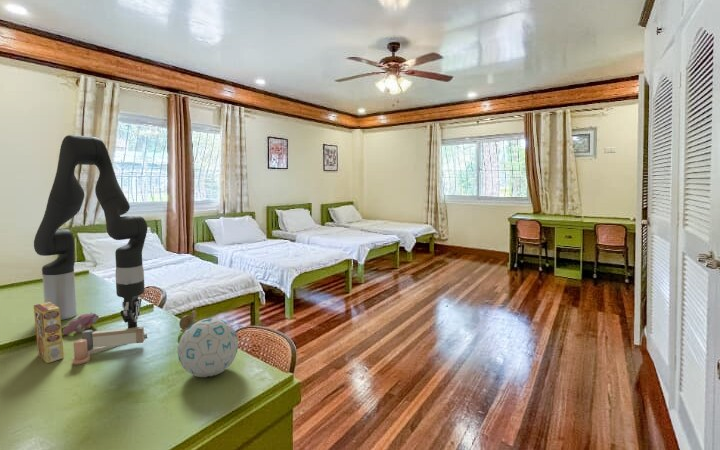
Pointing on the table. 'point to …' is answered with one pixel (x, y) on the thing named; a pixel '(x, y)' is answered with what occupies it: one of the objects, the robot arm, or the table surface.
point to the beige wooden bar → (113, 337)
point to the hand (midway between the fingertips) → (132, 332)
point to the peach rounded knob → (80, 352)
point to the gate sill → (104, 348)
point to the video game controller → (81, 323)
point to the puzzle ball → (207, 347)
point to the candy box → (48, 332)
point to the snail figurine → (186, 323)
